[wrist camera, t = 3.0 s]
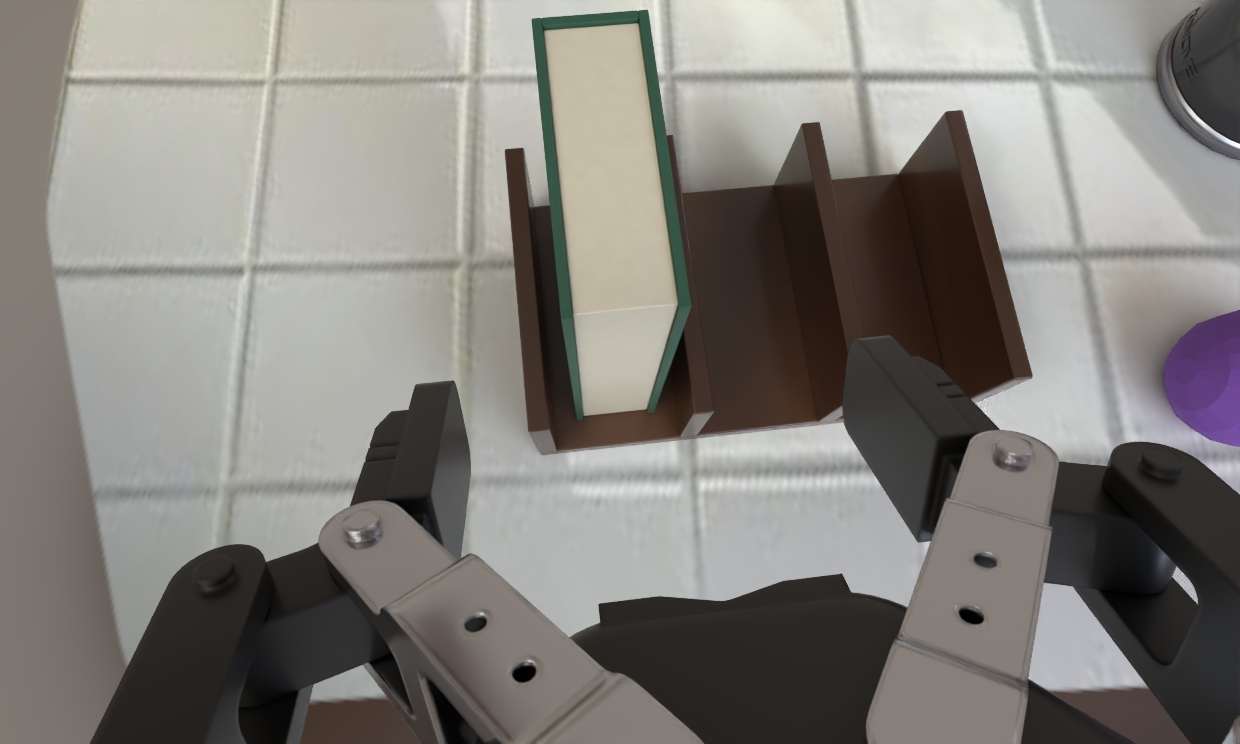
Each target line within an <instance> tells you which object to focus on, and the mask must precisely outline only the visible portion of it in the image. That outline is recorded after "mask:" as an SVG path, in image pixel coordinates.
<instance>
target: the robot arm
mask: <svg viewBox="0 0 1240 744" xmlns="http://www.w3.org/2000/svg"><path fill="white" fill-rule="evenodd" d="M1157 76H1158V82H1159V87H1160V90H1161V93H1162V96H1163V98H1164V100H1165V102H1166V104H1167V106H1168V108H1169V109H1170V111H1171V112H1172V114H1173V115H1174V117H1175V118H1176V119H1177V120H1178V122H1179V123H1180V124H1181V125H1182V126H1183V127H1184V128H1185V129H1186V130H1187V131H1188V132H1189V133H1190V134H1191V135H1193V136H1194V137H1195V138H1196V139H1198V140H1199V141H1200V142H1202V143H1203V144H1205V145H1207V146H1208V147H1210V148H1212V149H1214V150H1216V151H1217V152H1220V153H1222V154H1224V155H1227V156H1230V157H1232V158H1235V159H1239V160H1240V0H1206V1H1205V2H1204V3H1203V4H1202V5H1201V6H1200V7H1198V8H1197V9H1195V10H1194V11H1192V12H1191V13H1190V14H1189V15H1187V16H1186V17H1185V18H1184V19H1183V20H1182V21H1181V22H1180V23H1179V24H1178V25H1177V26H1176V27H1174V28H1173V30H1172V31H1171V32H1170V33H1169V34H1168V35H1167V37H1166V38H1165V40H1164V42H1163V44H1162V46H1161V49H1160V51H1159V55H1158V61H1157ZM842 412H843V419H844V424H845V427H846V430H847V432H848V434H849V436H850V437H851V439H852V440H853V442H854V443H855V445H856V447H857V448H858V450H859V451H860V453H861V454H862V456H863V458H864V459H865V461H866V462H867V464H868V465H869V467H870V468H871V470H872V472H873V473H874V475H875V476H876V478H877V479H878V481H879V483H880V484H881V486H882V487H883V489H884V490H885V492H886V493H887V495H888V497H889V498H890V500H891V501H892V503H893V504H894V506H895V508H896V509H897V511H898V512H899V514H900V515H901V517H902V518H903V520H904V522H905V523H906V525H907V526H908V528H909V529H910V531H911V532H912V534H913V536H914V537H915V539H916V540H917V542H926V541H931V543H930V545H929V548H928V551H927V554H926V557H925V560H924V563H923V565H922V568H921V571H920V574H919V577H918V580H917V583H916V586H915V588H914V591H913V594H912V597H911V600H910V603H909V606H908V608H907V607H905V606H903V605H901V604H898V603H895V602H893V601H890V600H887V599H883V598H880V597H876V596H872V595H866V594H861V593H852V592H851V591H850V589H849V587H848V585H847V583H846V581H845V579H844V577H843V575H842V574H837V575H828V576H820V577H812V578H804V579H796V580H788V581H782V582H779V583H776V584H773V585H771V586H768V587H765V588H762V589H759V590H757V591H754V592H751V593H748V594H745V595H742V596H740V597H737V598H734V599H731V600H727V601H711V600H699V599H686V598H674V597H661V596H658V597H650V598H642V599H634V600H625V601H617V602H609V603H601V604H599V614H600V623H599V624H596V625H593V626H591V627H588V628H586V629H584V630H582V631H580V632H578V633H576V634H574V635H573V636H571V637H568V636H567V635H566V634H565V633H563V632H562V631H561V630H560V629H559V628H558V627H557V626H556V625H555V624H553V623H552V622H551V621H550V620H549V619H548V618H547V617H546V616H544V615H543V614H542V613H541V612H540V611H539V610H538V609H537V608H536V607H534V606H533V605H532V604H531V603H530V602H529V601H528V600H527V599H526V598H524V597H523V596H522V595H521V594H520V593H519V592H518V591H517V590H515V589H514V588H513V587H512V586H511V585H510V584H509V583H508V582H507V581H505V580H504V579H503V578H502V577H501V576H500V575H499V574H498V573H496V572H495V571H494V570H493V569H492V568H491V567H490V566H489V565H488V564H486V563H485V562H484V561H483V560H482V559H481V558H479V557H478V556H476V555H475V554H468V555H466V556H465V557H463V558H461V551H462V543H463V535H464V526H465V518H466V509H467V501H468V493H469V484H470V476H471V460H470V450H469V444H468V439H467V434H466V429H465V424H464V420H463V415H462V410H461V405H460V400H459V395H458V391H457V387H456V384H455V382H454V381H453V380H452V381H443V382H433V383H424V384H416V385H415V388H414V391H413V395H412V399H411V402H410V406H409V410H402V411H393V412H390V413H389V414H388V415H387V417H386V418H385V419H384V420H383V421H382V422H381V423H380V424H379V425H378V426H377V427H376V428H375V431H374V434H373V437H372V440H371V443H370V448H369V449H368V452H367V455H366V462H364V465H363V468H362V471H361V474H360V477H359V480H358V483H357V486H356V489H355V492H354V495H353V498H352V501H351V504H350V507H348V508H346V509H344V510H342V511H341V512H339V513H337V514H336V515H335V516H333V517H332V518H331V519H330V520H329V521H328V522H327V523H326V524H325V525H324V527H323V528H322V530H321V532H320V535H319V541H318V543H317V544H315V545H313V546H311V547H308V548H306V549H303V550H301V551H298V552H295V553H292V554H289V555H286V556H283V557H280V558H277V559H274V560H271V561H268V562H266V561H265V558H264V556H263V554H262V553H261V551H260V550H258V549H257V548H255V547H253V546H250V545H244V544H235V545H227V546H222V547H219V548H216V549H213V550H210V551H208V552H205V553H203V554H201V555H199V556H197V557H196V558H194V559H193V560H191V561H189V562H188V563H187V564H186V565H184V566H183V567H182V568H181V569H180V570H179V571H178V572H177V573H176V574H175V575H174V576H173V578H172V579H171V581H170V582H169V584H168V586H167V588H166V590H165V592H164V594H163V596H162V598H161V600H160V602H159V604H158V606H157V608H156V610H155V612H154V614H153V616H152V618H151V620H150V623H149V625H148V627H147V629H146V631H145V633H144V635H143V637H142V639H141V641H140V643H139V645H138V647H137V649H136V651H135V653H134V655H133V657H132V659H131V661H130V663H129V665H128V667H127V669H126V671H125V673H124V675H123V677H122V679H121V681H120V684H119V686H118V688H117V690H116V692H115V694H114V696H113V698H112V700H111V702H110V704H109V706H108V708H107V710H106V712H105V714H104V716H103V718H102V720H101V722H100V724H99V726H98V728H97V730H96V732H95V734H94V736H93V738H92V740H91V743H90V744H300V740H301V736H302V732H303V727H304V723H305V719H306V714H307V710H308V705H309V701H310V697H311V692H312V688H313V684H315V683H318V682H320V681H323V680H325V679H328V678H330V677H333V676H335V675H338V674H340V673H343V672H345V671H348V670H350V669H353V668H355V667H358V666H360V665H364V667H365V669H366V670H367V671H368V672H369V674H370V675H371V676H372V678H373V679H374V680H375V682H376V683H377V684H378V686H379V687H380V688H381V689H382V691H383V692H384V693H385V695H386V696H387V697H388V699H389V700H390V701H391V702H392V704H393V705H394V706H395V708H396V709H397V710H398V712H399V713H400V714H401V716H402V717H403V718H404V720H405V721H406V722H407V723H408V725H409V726H410V727H411V729H412V730H413V731H414V733H415V734H416V736H417V737H418V739H419V740H420V742H421V744H1136V743H1134V742H1133V741H1131V740H1129V739H1128V738H1126V737H1124V736H1123V735H1121V734H1119V733H1118V732H1116V731H1114V730H1113V729H1111V728H1109V727H1108V726H1106V725H1104V724H1102V723H1101V722H1099V721H1098V720H1096V719H1094V718H1093V717H1091V716H1089V715H1088V714H1086V713H1084V712H1083V711H1081V710H1079V709H1078V708H1076V707H1074V706H1073V705H1071V704H1069V703H1068V702H1066V701H1064V700H1063V699H1061V698H1059V697H1058V696H1056V695H1054V694H1053V693H1051V692H1049V691H1048V690H1046V689H1044V688H1043V687H1041V686H1039V685H1038V684H1036V683H1034V682H1033V681H1031V680H1029V679H1028V676H1029V669H1030V663H1031V657H1032V651H1033V645H1034V639H1035V633H1036V626H1037V620H1038V614H1039V608H1040V602H1041V596H1042V590H1043V583H1051V584H1059V585H1067V586H1073V587H1074V589H1075V590H1076V592H1077V593H1078V594H1079V596H1080V597H1081V598H1082V600H1083V601H1084V602H1085V604H1086V605H1087V606H1088V608H1089V609H1090V610H1091V612H1092V613H1093V614H1094V616H1095V617H1096V618H1097V620H1098V621H1099V622H1100V624H1101V625H1102V626H1103V628H1104V629H1105V630H1106V632H1107V633H1108V634H1109V636H1110V637H1111V638H1112V640H1113V641H1114V642H1115V644H1116V645H1117V646H1118V648H1119V649H1120V650H1121V651H1122V653H1123V654H1124V655H1125V657H1126V658H1127V659H1128V661H1129V662H1130V663H1131V665H1132V666H1133V667H1134V669H1135V670H1136V671H1137V673H1138V674H1139V675H1140V677H1141V678H1142V679H1143V681H1144V682H1145V683H1146V685H1147V686H1148V687H1149V689H1150V690H1151V691H1152V693H1153V694H1154V695H1155V696H1156V698H1157V699H1158V701H1159V702H1160V703H1161V705H1162V706H1163V707H1164V709H1165V710H1166V711H1167V713H1168V714H1169V715H1170V717H1171V718H1172V719H1173V721H1174V722H1175V723H1176V725H1177V726H1178V727H1179V728H1180V730H1181V731H1182V732H1183V734H1184V735H1185V737H1186V738H1187V739H1188V741H1189V742H1190V743H1191V744H1240V495H1239V494H1238V493H1237V492H1236V491H1235V490H1233V489H1232V488H1231V487H1230V486H1229V485H1228V484H1226V483H1225V482H1224V481H1223V480H1222V479H1221V478H1219V477H1218V476H1217V475H1216V474H1215V473H1213V472H1212V471H1211V470H1210V469H1209V468H1208V467H1206V466H1205V465H1204V464H1203V463H1201V462H1200V461H1199V460H1197V459H1196V458H1194V457H1193V456H1191V455H1189V454H1187V453H1185V452H1183V451H1180V450H1178V449H1175V448H1172V447H1169V446H1165V445H1161V444H1156V443H1150V442H1130V443H1125V444H1121V445H1119V446H1117V447H1116V448H1115V449H1114V450H1113V451H1112V453H1111V456H1110V459H1109V462H1108V465H1107V466H1099V465H1088V464H1077V463H1067V462H1059V460H1058V457H1057V455H1056V453H1055V452H1054V451H1053V450H1052V449H1051V448H1050V447H1049V446H1047V445H1046V444H1045V443H1043V442H1041V441H1040V440H1038V439H1036V438H1034V437H1031V436H1028V435H1026V434H1022V433H1019V432H1013V431H1006V430H1000V429H999V428H998V427H997V426H996V425H995V424H994V423H993V422H992V421H991V420H990V419H989V418H988V417H987V416H986V415H985V414H984V412H983V411H982V410H981V409H980V408H979V407H978V406H977V405H976V404H975V403H974V402H973V401H972V400H971V399H970V398H969V397H966V395H965V393H964V392H963V391H962V389H961V388H960V387H959V386H958V385H955V384H954V381H953V380H952V379H951V378H950V377H949V376H948V375H947V374H946V373H945V372H944V371H943V370H942V369H941V368H940V367H938V366H936V365H935V364H933V363H931V362H929V361H927V360H925V359H923V358H921V357H919V356H915V357H911V356H910V355H909V354H908V353H907V352H906V351H905V350H904V349H903V348H902V346H901V345H900V344H899V343H898V342H897V341H896V340H895V339H894V338H893V337H892V336H889V335H888V336H878V337H869V338H859V339H853V340H852V341H851V342H850V345H849V348H848V356H847V365H846V374H845V384H844V393H843V403H842ZM1176 566H1177V567H1178V568H1179V569H1180V570H1181V571H1182V572H1183V573H1184V574H1185V575H1186V576H1187V577H1188V579H1189V580H1190V581H1191V583H1192V584H1193V586H1194V588H1195V591H1196V593H1197V597H1198V605H1197V603H1196V602H1195V601H1194V600H1193V599H1192V598H1191V597H1190V596H1189V595H1188V594H1187V593H1186V591H1185V590H1184V589H1183V588H1182V587H1181V586H1180V585H1179V584H1178V583H1177V582H1176V581H1175V579H1174V578H1173V577H1172V576H1173V573H1174V571H1175V569H1176Z"/></svg>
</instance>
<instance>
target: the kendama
mask: <svg viewBox="0 0 1240 744" xmlns="http://www.w3.org/2000/svg"><path fill="white" fill-rule="evenodd" d="M1163 377H1164V386H1165V391H1166V395H1167V398H1168V400H1169V402H1170V404H1171V406H1172V408H1173V410H1174V412H1175V414H1176V416H1177V417H1179V418H1180V419H1181V420H1182V421H1183V422H1185V423H1186V424H1187V425H1188V426H1190V427H1191V428H1192V429H1194V430H1195V431H1197V432H1199V433H1200V434H1202V435H1203V436H1205V437H1206V438H1208V439H1210V440H1213V441H1217V442H1220V443H1224V444H1228V445H1232V446H1239V447H1240V310H1238V311H1234V312H1231V313H1228V314H1224V315H1221V316H1218V317H1215V318H1212V319H1209V320H1207V321H1204V322H1201V323H1198V324H1196V325H1195V326H1194V327H1193V328H1192V329H1191V330H1189V331H1188V332H1187V333H1186V334H1185V335H1184V336H1183V337H1181V338H1180V340H1179V341H1178V342H1177V344H1176V345H1175V347H1174V348H1173V350H1172V351H1171V353H1170V355H1169V357H1168V358H1167V360H1166V364H1165V369H1164V373H1163Z"/></svg>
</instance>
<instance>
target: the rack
mask: <svg viewBox="0 0 1240 744" xmlns="http://www.w3.org/2000/svg"><path fill="white" fill-rule="evenodd" d="M667 143H668V150H669V156H670V163H671V170H672V177H673V184H674V190H675V197H676V204H677V211H678V218H679V225H680V231H681V238H682V245H683V252H684V259H685V265H686V272H687V279H688V286H689V293H690V299H691V309H690V312H689V315H688V317H687V320H686V323H685V326H684V329H683V332H682V334H681V337H680V340H679V343H678V346H677V349H676V351H675V354H674V357H673V360H672V363H671V366H670V368H669V371H668V374H667V377H666V380H665V383H664V385H663V388H662V391H661V394H660V397H659V400H658V402H657V405H656V408H655V411H654V413H648V412H647V409H644V410H635V411H625V412H616V413H607V414H597V415H588V416H583V420H579V421H577V418H576V412H575V405H574V399H573V392H572V386H571V379H570V373H569V366H568V360H567V353H566V347H565V340H564V334H563V327H562V321H561V312H560V301H559V291H558V281H557V271H556V261H555V251H554V241H553V231H552V221H551V211H550V206H539V207H534V202H533V196H532V191H531V185H530V180H529V174H528V169H527V163H526V158H525V152H524V149H523V148H515V149H506V150H505V160H506V171H507V183H508V195H509V207H510V219H511V231H512V243H513V255H514V267H515V279H516V291H517V303H518V315H519V327H520V339H521V351H522V362H523V374H524V386H525V398H526V410H527V422H528V431H529V433H530V435H531V437H532V439H533V441H534V443H535V445H536V446H537V448H538V450H539V452H540V454H541V455H548V454H557V453H566V452H575V451H584V450H593V449H602V448H612V447H621V446H630V445H639V444H648V443H657V442H667V441H676V440H685V439H694V438H703V437H712V436H722V435H731V434H740V433H749V432H758V431H767V430H777V429H786V428H795V427H804V426H813V425H822V424H831V423H841V422H844V419H843V412H842V403H843V393H844V384H845V374H846V365H847V356H848V348H849V345H850V342H851V341H852V340H853V339H859V338H869V337H878V336H888V335H889V336H892V337H893V338H894V339H895V340H896V341H897V342H898V343H899V344H900V345H901V346H902V348H903V349H904V350H905V351H906V352H907V353H908V354H909V355H910V356H911V357H915V356H919V357H921V358H923V359H925V360H927V361H929V362H931V363H933V364H935V365H936V366H938V367H940V368H941V369H942V370H943V371H944V372H945V373H946V374H947V375H948V376H949V377H950V378H951V379H952V380H953V381H954V384H955V385H958V386H959V387H960V388H961V389H962V391H963V392H964V393H965V395H966V397H969V398H970V399H971V400H972V401H973V402H974V403H976V402H978V401H981V400H983V399H985V398H987V397H990V396H992V395H994V394H997V393H999V392H1001V391H1004V390H1006V389H1008V388H1010V387H1013V386H1015V385H1017V384H1020V383H1022V382H1024V381H1026V380H1029V379H1031V378H1032V372H1031V368H1030V364H1029V361H1028V357H1027V353H1026V349H1025V345H1024V342H1023V338H1022V334H1021V330H1020V327H1019V323H1018V319H1017V315H1016V311H1015V308H1014V304H1013V300H1012V296H1011V292H1010V289H1009V285H1008V281H1007V277H1006V273H1005V270H1004V266H1003V262H1002V258H1001V254H1000V251H999V247H998V243H997V239H996V236H995V232H994V228H993V224H992V220H991V217H990V213H989V209H988V205H987V201H986V198H985V194H984V190H983V186H982V182H981V179H980V175H979V171H978V167H977V163H976V160H975V156H974V152H973V148H972V145H971V141H970V137H969V133H968V129H967V126H966V122H965V118H964V114H963V111H962V110H959V111H947V112H945V113H944V115H943V116H942V117H941V119H940V120H939V121H938V122H937V124H936V125H935V126H934V128H933V129H932V130H931V132H930V133H929V134H928V136H927V137H926V138H925V140H924V141H923V142H922V143H921V145H920V146H919V147H918V149H917V150H916V151H915V153H914V154H913V155H912V157H911V158H910V159H909V161H908V162H907V163H906V165H905V166H904V167H903V168H902V170H901V171H900V172H899V174H892V175H881V176H870V177H859V178H848V179H837V180H831V175H830V170H829V165H828V161H827V156H826V151H825V146H824V141H823V136H822V132H821V127H820V123H819V122H815V123H803V124H802V125H801V127H800V129H799V131H798V133H797V135H796V138H795V140H794V142H793V144H792V146H791V149H790V151H789V153H788V155H787V157H786V160H785V162H784V164H783V166H782V168H781V171H780V173H779V175H778V177H777V179H776V181H775V184H774V185H771V186H760V187H748V188H737V189H726V190H715V191H704V192H693V193H682V190H681V183H680V177H679V170H678V163H677V157H676V150H675V143H674V137H673V135H667Z"/></svg>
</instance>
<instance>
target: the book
mask: <svg viewBox="0 0 1240 744" xmlns="http://www.w3.org/2000/svg"><path fill="white" fill-rule="evenodd" d="M532 29H533V39H534V49H535V59H536V69H537V79H538V89H539V100H540V110H541V120H542V130H543V140H544V150H545V160H546V170H547V180H548V190H549V200H550V211H551V221H552V231H553V241H554V251H555V261H556V271H557V281H558V291H559V301H560V312H561V321H562V327H563V334H564V340H565V347H566V353H567V360H568V366H569V373H570V379H571V386H572V392H573V399H574V405H575V412H576V418H577V421H579V420H583V416H588V415H597V414H607V413H616V412H625V411H635V410H644V409H647V412H648V413H654V411H655V408H656V405H657V402H658V400H659V397H660V394H661V391H662V388H663V385H664V383H665V380H666V377H667V374H668V371H669V368H670V366H671V363H672V360H673V357H674V354H675V351H676V349H677V346H678V343H679V340H680V337H681V334H682V332H683V329H684V326H685V323H686V320H687V317H688V315H689V312H690V309H691V299H690V293H689V286H688V279H687V272H686V265H685V259H684V252H683V245H682V238H681V231H680V225H679V218H678V211H677V204H676V197H675V190H674V184H673V177H672V170H671V163H670V156H669V150H668V143H667V136H666V129H665V122H664V115H663V109H662V102H661V95H660V88H659V81H658V75H657V68H656V61H655V54H654V47H653V41H652V34H651V27H650V20H649V13H648V10H639V11H626V12H613V13H600V14H587V15H574V16H561V17H548V18H542V19H541V18H535V19H532Z"/></svg>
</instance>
